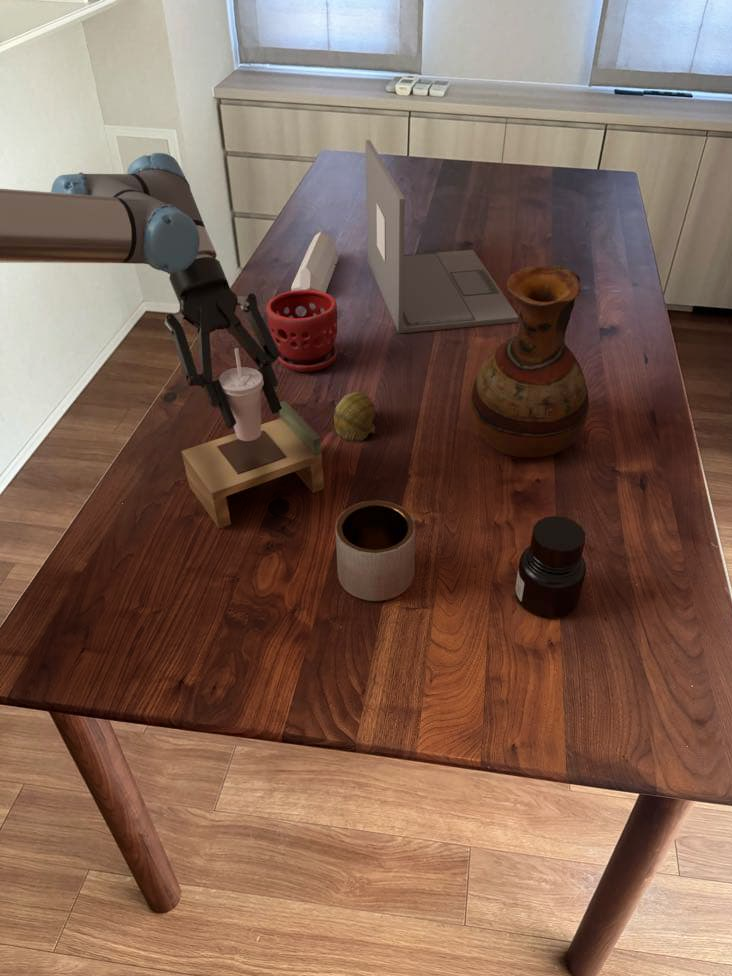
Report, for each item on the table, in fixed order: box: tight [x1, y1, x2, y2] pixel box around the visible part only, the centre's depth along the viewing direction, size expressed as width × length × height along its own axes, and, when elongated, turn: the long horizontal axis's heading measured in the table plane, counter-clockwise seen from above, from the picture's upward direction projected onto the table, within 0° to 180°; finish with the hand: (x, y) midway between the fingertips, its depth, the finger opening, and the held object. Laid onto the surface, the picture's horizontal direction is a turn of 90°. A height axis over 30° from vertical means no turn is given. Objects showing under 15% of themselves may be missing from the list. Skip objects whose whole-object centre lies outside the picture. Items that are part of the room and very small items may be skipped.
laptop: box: [365, 139, 520, 335], centre depth 169 cm, size 35×26×27 cm
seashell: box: [333, 391, 376, 443], centre depth 138 cm, size 10×7×8 cm
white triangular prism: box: [290, 230, 339, 293], centre depth 180 cm, size 7×7×24 cm
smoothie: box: [217, 347, 264, 441], centre depth 115 cm, size 6×6×14 cm
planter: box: [334, 500, 416, 602], centre depth 109 cm, size 11×11×10 cm
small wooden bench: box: [181, 400, 325, 530], centre depth 123 cm, size 18×12×10 cm, turn 123°
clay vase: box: [470, 263, 590, 458], centre depth 128 cm, size 20×20×30 cm
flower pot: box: [266, 290, 338, 373], centre depth 152 cm, size 13×13×12 cm
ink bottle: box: [514, 515, 587, 620], centre depth 106 cm, size 10×9×12 cm
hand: (254, 418), depth 114 cm, fingers closed on smoothie, 6 cm apart
